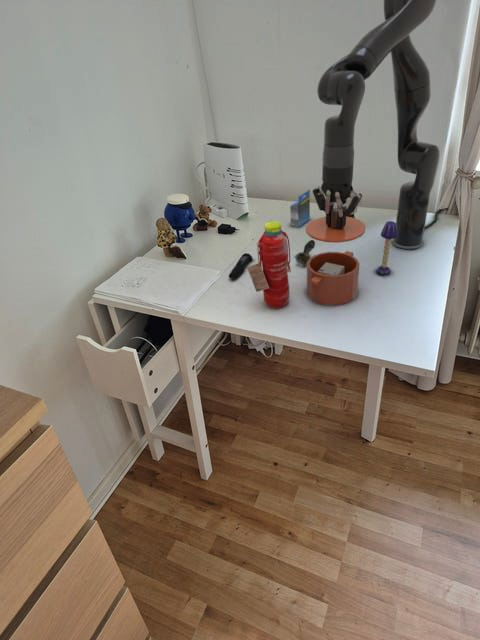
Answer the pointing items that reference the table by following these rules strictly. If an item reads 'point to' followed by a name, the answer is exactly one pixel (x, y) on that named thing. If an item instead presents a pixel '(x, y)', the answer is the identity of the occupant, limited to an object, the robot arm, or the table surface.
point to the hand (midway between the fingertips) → (335, 226)
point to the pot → (332, 279)
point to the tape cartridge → (300, 210)
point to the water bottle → (272, 266)
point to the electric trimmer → (240, 265)
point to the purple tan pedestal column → (387, 246)
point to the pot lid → (335, 229)
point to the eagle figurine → (306, 252)
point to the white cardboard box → (332, 269)
